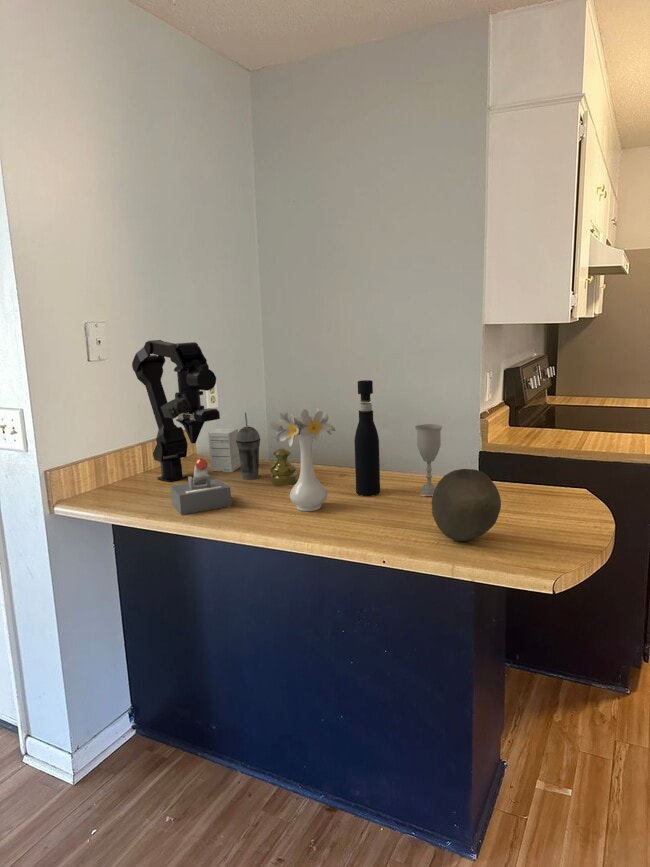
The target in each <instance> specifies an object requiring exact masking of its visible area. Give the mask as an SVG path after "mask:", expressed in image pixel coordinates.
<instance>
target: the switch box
mask: <svg viewBox="0 0 650 867" xmlns="http://www.w3.org/2000/svg"><path fill="white" fill-rule="evenodd" d="M187 477H188V483H183V484H182V483H181V484H176V485H170V489H169V490H170V499H171V506H174V507H175V508H176V509H175V508H174V507H173V508H174V509H175V510H176V511H177V512H178V514H179V515H181V516H184V515H189V513H190V514H194V512H195V513H200V512H199V511H201V512H206V511H205V510H207V511H211V510H212V511H213V510H217V508H218V509H222V508H223V507H224V508H228V506H229V507H232V495H231V494H232V493H231V492H232V491H231V486H229V485H228V484H226V483H225V482H224V481H222V480H221V479H220V478H216V479H211V476H210V474H208V473H207V481H206V484H203V485H196V486H195V485H194V483H193V477H192V476H187ZM183 514H184V515H183Z"/></svg>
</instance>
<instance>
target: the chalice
mask: <svg viewBox="0 0 650 867" xmlns="http://www.w3.org/2000/svg"><path fill="white" fill-rule="evenodd" d="M414 428H415V430H416V446H417V450H418V452H419V454H420V456H421V458H422V460H423V461H424V462H426V469H425V470H426V472H427V473H426V475H425V477H426V481H427V482H426V483H425V484H424V485H422V487H421V490H420V492H419V495H420V494H421V495H425V496H432V495H433V493H434V490H435V488H436V486H437V485H435V484H433V483H432V478H433V475H432V470H433V469H432V462H434V461H435V460H436V458H437V456H438V454H439V451H440V448H441V445H442V444H441V441H442V440H441V438H442V437H441V435H442V434H441V431H442V428H443V425H442V424H436V423H431V424H430V423H426V424H424V423H423V424H419V425H418V424H417V425H415V426H414ZM421 495H420V496H421Z"/></svg>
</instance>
